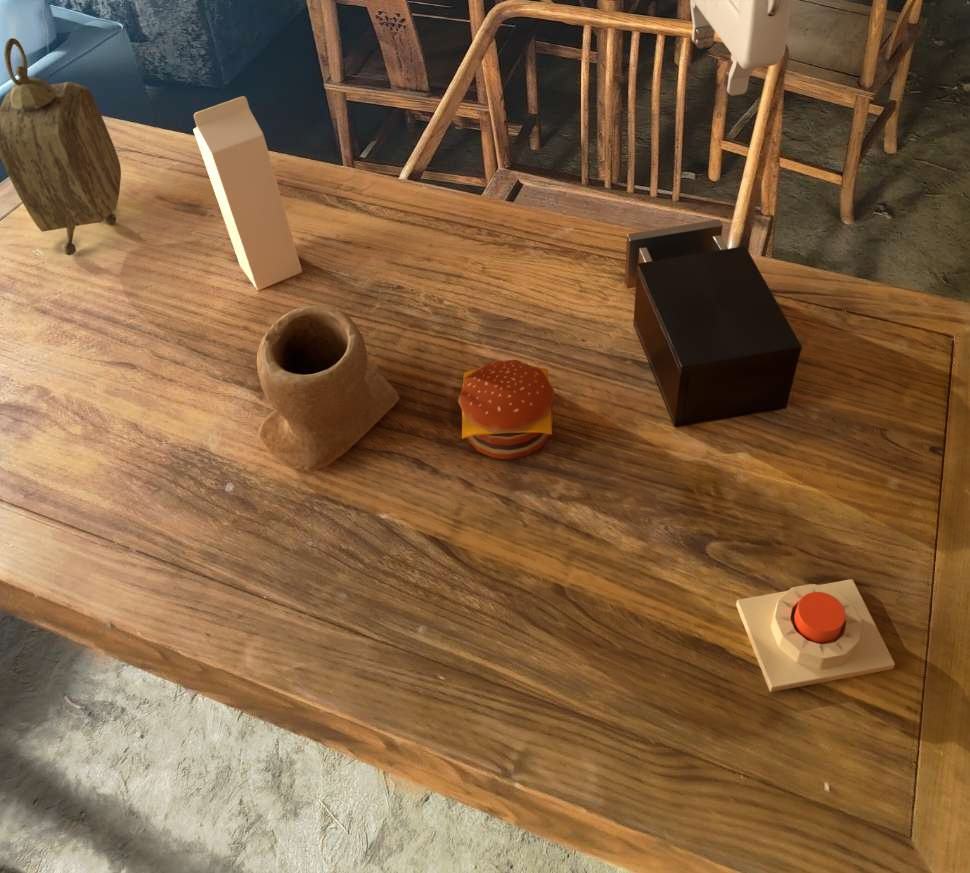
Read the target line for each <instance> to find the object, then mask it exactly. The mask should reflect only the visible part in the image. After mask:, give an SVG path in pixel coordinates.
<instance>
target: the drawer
mask: <svg viewBox="0 0 970 873" xmlns="http://www.w3.org/2000/svg"><path fill="white" fill-rule="evenodd" d="M723 228H724V226H723V223H722V221H721V219H720V218H718V219H712V220H707V221H706V220H705V221H700V222H694V223H687V224H682V225H676V226H669V227H662V228H657V229H656V228H655V229H649V230H644V231H639V232H638V231H637V232H632V233H627V234H626V248H625V266H624V267H625V268H624V285H625V287H626V289H627V290H628V289H629V290H630V289H634V288H635V289H636V276H637V264H638V263H644V262H650V261H656V260H662V259H668V258H674V257H681V256H687V255H693V254H699V253H705V252H711V251H717V250H724V249H729V248H728V247H727V245H726V242H725V240H724V238H722V234H723Z"/></svg>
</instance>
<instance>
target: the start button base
mask: <svg viewBox="0 0 970 873" xmlns="http://www.w3.org/2000/svg"><path fill="white" fill-rule="evenodd" d="M812 592H823V593H827V594H829V595H831V596H833V597H835V598H836V599H837V600H838V601H839V602H840V603H841V604H842V606H843V607H844V610H845V615H846V617H845V622H844V624H843V626H842V629H841V631H840V633H839V635H838V636H837V637H836V638H835V639H834V640H832V641H829V642H825V643H819V642H814V641H811V640H808V639H807V638H805V637H804V636H802V635H801V634H800V633H799V631H798V630H797V628H796V626H795V624H794V614H795V611H796V608H797V606H798V603H799V601H800V599H801V598H802V597H803V596H804V595H806V594H808V593H812ZM735 606H736V608H737V611H738V614H739V616H740V619H741V621H742V624H743V627H744V629H745V632H746V634H747V636H748V640H749V642H750V644H751V647H752V651H753V653H754V655H755V657H756V660H757V662H758V665H759V667H760V670H761V672H762V675H763V678H764V680H765V684H766V685H767V688H768V690H769V692H771V693H773V692H777V691H783V690H784V691H785V690H788V689H793V688H799V687H804V686H809V685H816V684H820V683H821V684H822V683H826V682H832V681H836V680H842V679H848V678H853V677H859V676H863V675H864V676H865V675H869V674H874V673H880V672H885V671H890V670H893V669H894V668H895V666H896V663H895V661H894V659H893V657H892V654H891V653H890V652H889V649H888V647H887V645H886V643H885V641H884V638H883V637H882V635H881V633H880V631H879V629H878V627H877V625H876V623H875V621H874V619H873V617H872V615H871V612H870V611H869V609H868V607H867V605H866V603H865V601H864V599H863V597H862V595H861V593H860V591H859V589H858V586H857V585H856V583H855V581H854V579H846V580H839V581H835V582H829V583H824V584H815V583H809V584H805V585H799V586H793V587H790V589H789V590H785V591H780V592H773V593H768V594H763V595H757V596H751V597H747V598H740V599H737V600H736V603H735Z"/></svg>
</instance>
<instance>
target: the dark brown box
mask: <svg viewBox="0 0 970 873" xmlns="http://www.w3.org/2000/svg"><path fill="white" fill-rule="evenodd" d="M634 293H635V294H634V310H633V323H632V325H633V328H634V330H635V332H636V335H637V337H638V338H637V339H638V340H639V342H640V345H641V347H642V351H643V354H644V355H645V357H646V360H647V363H648V365H649V367H650V370H651V373H652V375H653V378H654V381H655V383H656V385H657V388H658V391H659V393H660V395H661V398H662V400H663V402H664V405H665V408H666V410H667V412H668V416H669V418H670V420H671V423H672V425H673V427H674V428H679V427H686V426H691V425H698V424H703V423H708V422H709V423H710V422H715V421H720V420H726V419H732V418H737V417H744V416H749V415H755V414H761V413H768V412H773V411H779V410H784V409H787V408H788V404H789V399H790V396H791V391H792V387H793V384H794V380H795V376H796V371H797V368H798V363H799V360H800V357H801V356H800V355H801V353H802V349H803V346H802V344H801V342H800V340H799V338H798V336H797V335H796V333H795V331H794V330H793V328H792V326H791V324H790V322H789V321H788V318H787V317H786V315H785V314H784V311H783V310H782V308H781V307H780V304H779V303H778V301H777V300H776V297H775V296H774V293H773V292H772V291H771V288H770V287H769V285H768V283H767V282H766V281H765V278H764V276H763V275H762V273H761V271H760V269H759V267H758V266H757V264H756V262H755V261H754V259H753V257H752V255H751V254H750V251H749V250H748V248H747V246H746V245H742V246H737V247H736V246H735V247H730V248H728V249H724V250H717V251H711V252H705V253H699V254H693V255H687V256H681V257H674V258H668V259H662V260H656V261H650V262H644V263H638V264H637V276H636V287H635V292H634Z"/></svg>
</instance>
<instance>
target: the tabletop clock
mask: <svg viewBox="0 0 970 873" xmlns="http://www.w3.org/2000/svg"><path fill="white" fill-rule="evenodd" d="M14 45H15V46H16V47H17V49H18V51H19V54H20V57H21V65H19V66H16V68H15V73H16V76H17V77H18V79H17V78H16V76H15V74H14V72H13V67H12V61H11V60H12V58H11V54H12V49H13V46H14ZM3 55H4V63H5V67H6V70H7V72H8V75H9V77H10V80H11V81H12V82H13V83H14V85H13V86H12V87H11V89H10V91H8V92H7V93H5V96H4V98H3V100H2V102H1V104H0V159H1V162H2V164H3V166H4V169H5V171H6V173H7V175H8V177H9V179H10V181H11V183H12V185H13V187H14V189H15V191H16V193H17V195H18V197H19V199H20V200H21V202H22V204H23V205H24V206H23V207H24V208H25V209H26V211H27V213H28V214H29V216H30V217H31V219H32V222H34V224H35V225H36V227H37V228H38V229H39V230H40V231H41V232H43V233H44V232H48V231H49V232H50V231H56V230H61V229H66V242H64V243H63V245H62V246H61V249H62V251H63V254H65V255H66V256H72V255H74V254H75V253H76V251H77V248H76V245H75V244H74V243H73V238H74V234H75V233H74V232H75V229H76V227H78V226H85V225H91V224H96V223H102V222H103V221H104V224H106V225H107V226H108V225H109V226H113V225H115V224H116V223H117V217H116V214H114V213H113V212H115V211H116V210H117V206H118V202H119V198H120V191H121V181H122V168H121V162H120V159H119V156H118V153H117V150H116V148H115V145H114V142H113V139H112V137H111V135H110V133H109V130H108V128H107V125H106V123H105V121H104V118H103V116H102V114H101V111H100V109H99V107H98V105H97V103H96V100H95V98H94V96H93V94H92V92H91V91H90V89H89V87H87V86H84V85H82V84H79V83H76V82H74V81H67V82H61V83H60V82H59V83H53V84H50V83H49V82H48V81H46V80H44V79H41V78H39V77H34V76H33V77H29V75H28V70H29V68H28V67H29V66H28V61H27V56H26V53H25V51H24V48H23V46H22V44H21V43H20V41H19V40H18V39H16V38H15V37H14V38H12V37H10V38H9V39H8V40H7V41H6V42H5V46H4V52H3Z"/></svg>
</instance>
